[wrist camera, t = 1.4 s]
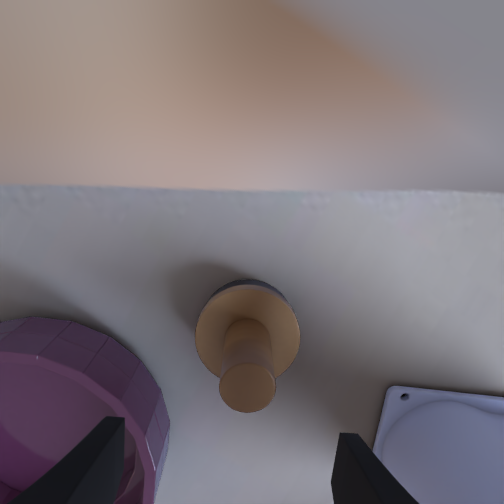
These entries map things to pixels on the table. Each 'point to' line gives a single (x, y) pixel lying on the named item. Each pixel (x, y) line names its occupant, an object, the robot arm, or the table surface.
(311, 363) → the table surface
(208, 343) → the pot brush
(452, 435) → the robot arm
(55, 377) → the bowl
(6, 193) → the table surface
